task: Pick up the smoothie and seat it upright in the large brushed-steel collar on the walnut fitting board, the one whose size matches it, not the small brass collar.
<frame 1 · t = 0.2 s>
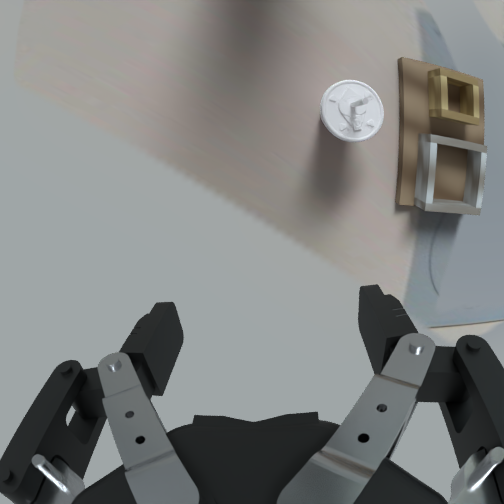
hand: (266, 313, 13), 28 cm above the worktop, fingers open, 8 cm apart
fitting board: (442, 136, 34), on the worktop
smoothie: (334, 115, 35), on the worktop
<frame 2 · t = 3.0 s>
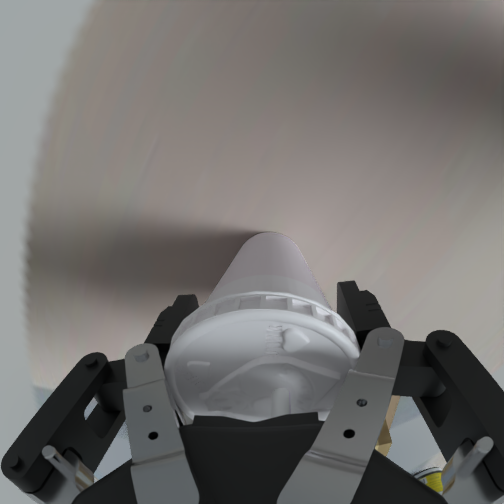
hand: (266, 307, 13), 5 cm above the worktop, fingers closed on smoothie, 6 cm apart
fitting board: (276, 427, 24), on the worktop
smoothie: (269, 261, 18), on the worktop, touching gripper
supplement bottle: (424, 474, 29), on the worktop
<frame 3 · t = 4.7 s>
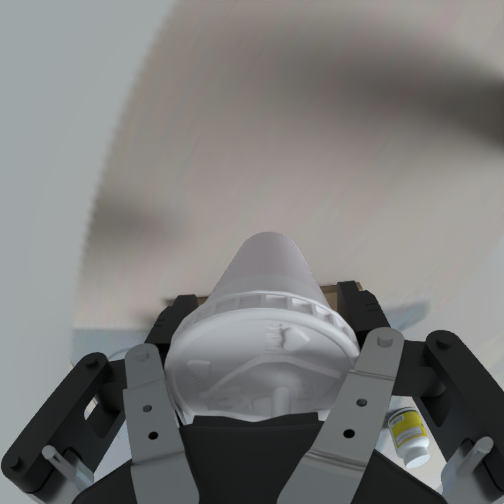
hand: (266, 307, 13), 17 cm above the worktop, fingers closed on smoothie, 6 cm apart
fitting board: (272, 343, 35), on the worktop
smoothie: (269, 261, 18), point 12 cm above the worktop, touching gripper
supplement bottle: (402, 415, 41), on the worktop
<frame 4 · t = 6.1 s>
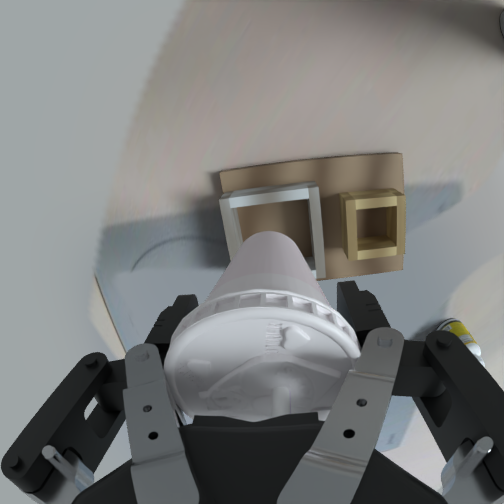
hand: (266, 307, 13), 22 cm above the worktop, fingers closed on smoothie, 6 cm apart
fitting board: (318, 219, 34), on the worktop
smoothie: (268, 260, 18), point 17 cm above the worktop, touching gripper
supplement bottle: (447, 330, 39), on the worktop
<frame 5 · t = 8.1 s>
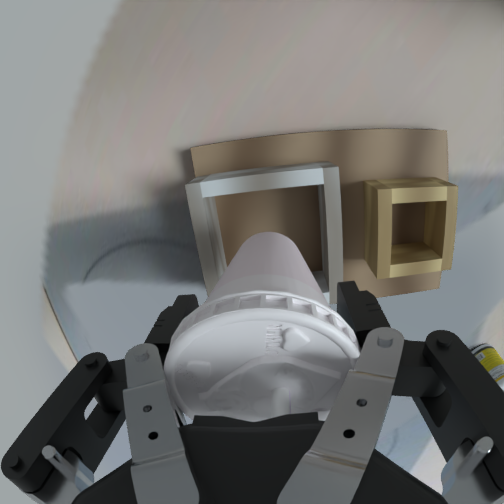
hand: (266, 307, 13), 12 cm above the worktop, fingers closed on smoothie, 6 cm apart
fitting board: (332, 218, 24), on the worktop
smoothie: (268, 261, 18), point 7 cm above the worktop, touching gripper
supplement bottle: (476, 357, 29), on the worktop
when the fingers open (8 cm above the worktop, at t = 9.5 s): smoothie drops 2 cm, resting on fitting board.
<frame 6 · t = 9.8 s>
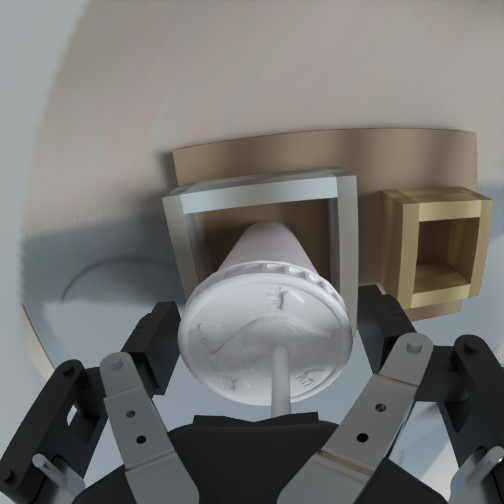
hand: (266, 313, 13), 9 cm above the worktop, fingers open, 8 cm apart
fitting board: (343, 234, 20), on the worktop
smoothie: (268, 247, 19), point 1 cm above the worktop, touching fitting board
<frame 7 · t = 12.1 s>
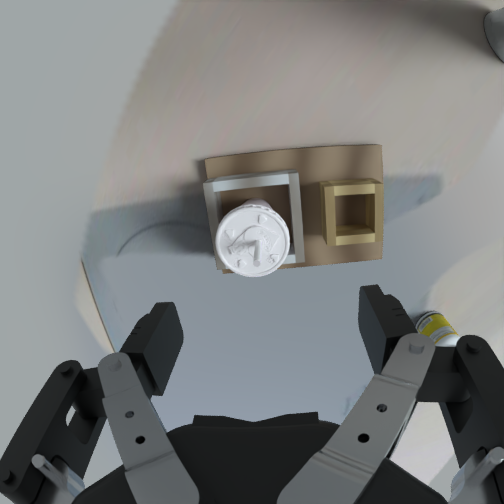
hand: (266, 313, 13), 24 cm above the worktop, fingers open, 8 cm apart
fitting board: (299, 207, 36), on the worktop
smoothie: (256, 213, 35), point 1 cm above the worktop, touching fitting board
supplement bottle: (428, 323, 41), on the worktop
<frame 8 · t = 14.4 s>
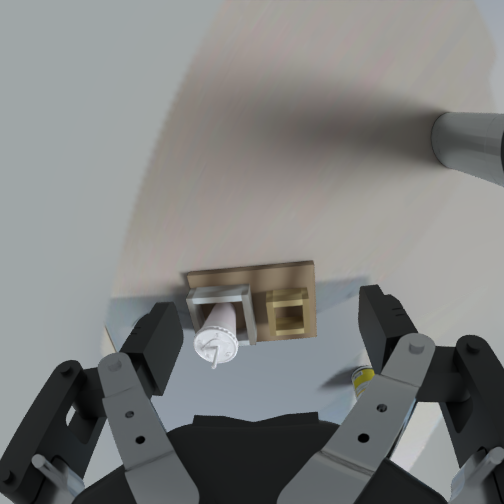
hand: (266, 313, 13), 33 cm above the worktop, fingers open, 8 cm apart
fitting board: (255, 304, 51), on the worktop
smoothie: (224, 309, 51), point 1 cm above the worktop, touching fitting board
supplement bottle: (363, 373, 57), on the worktop
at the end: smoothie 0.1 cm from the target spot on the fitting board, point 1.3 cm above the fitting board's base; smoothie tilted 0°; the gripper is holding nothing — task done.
